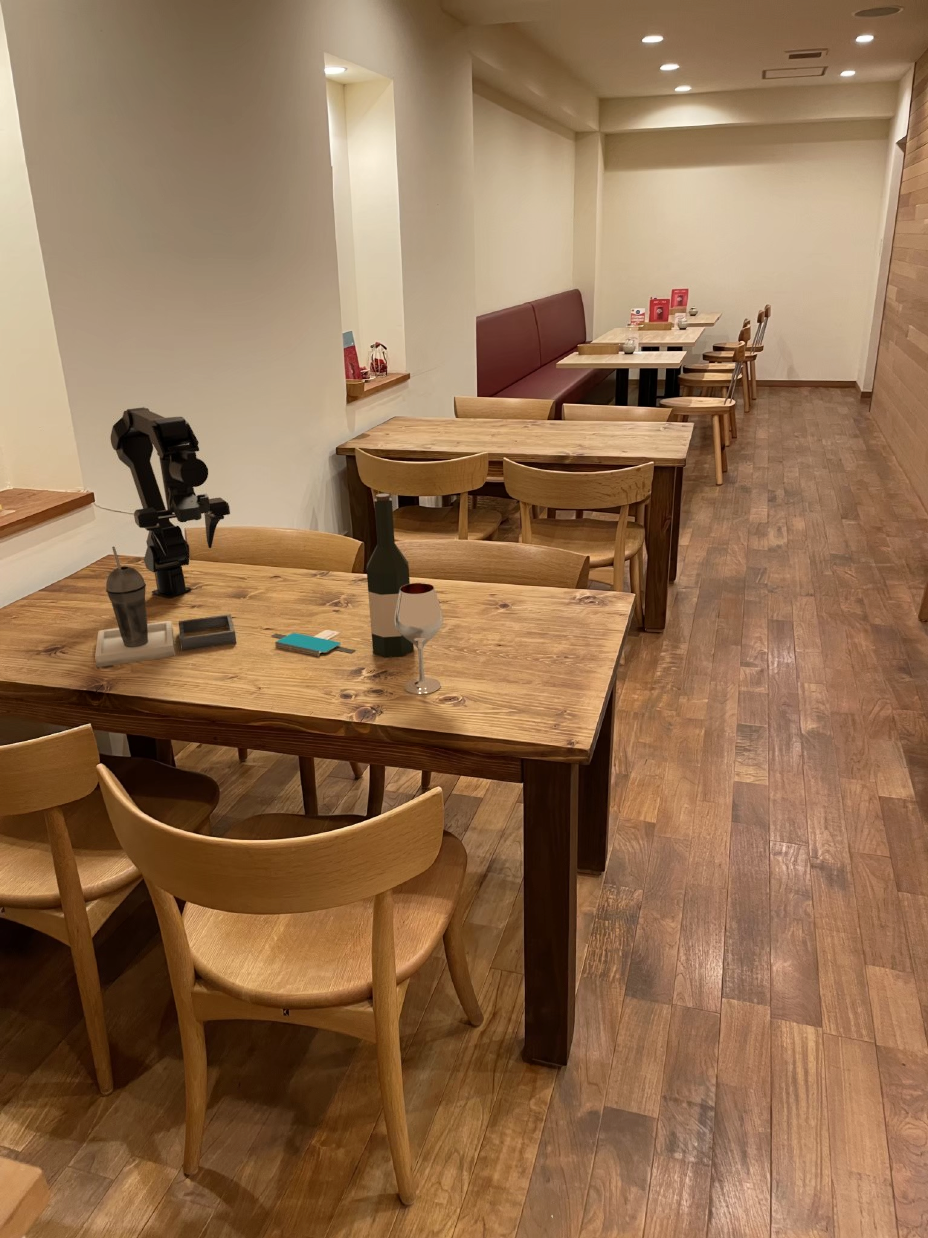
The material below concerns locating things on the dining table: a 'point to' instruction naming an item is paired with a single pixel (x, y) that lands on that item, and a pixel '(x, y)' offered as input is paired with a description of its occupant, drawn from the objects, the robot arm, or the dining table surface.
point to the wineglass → (419, 627)
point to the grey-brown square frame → (206, 639)
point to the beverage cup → (128, 603)
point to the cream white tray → (115, 652)
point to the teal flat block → (310, 643)
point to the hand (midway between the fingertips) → (188, 551)
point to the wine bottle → (386, 584)
